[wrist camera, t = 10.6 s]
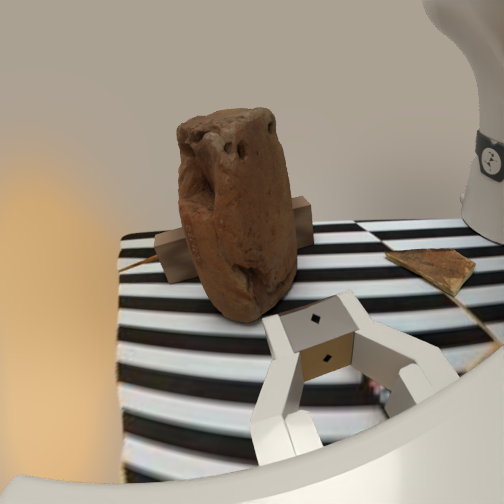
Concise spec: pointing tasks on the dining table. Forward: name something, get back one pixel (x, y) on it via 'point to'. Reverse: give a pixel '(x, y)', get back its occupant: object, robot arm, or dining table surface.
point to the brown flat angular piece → (436, 266)
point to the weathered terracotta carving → (237, 210)
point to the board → (179, 257)
